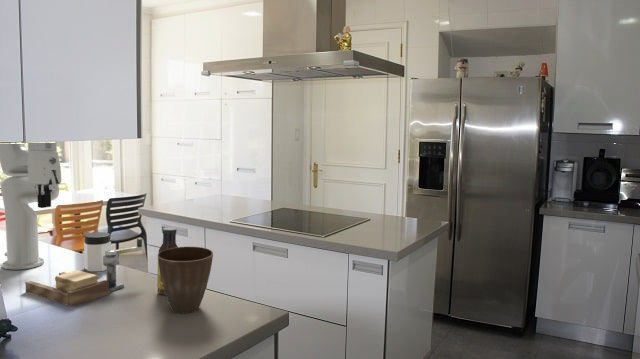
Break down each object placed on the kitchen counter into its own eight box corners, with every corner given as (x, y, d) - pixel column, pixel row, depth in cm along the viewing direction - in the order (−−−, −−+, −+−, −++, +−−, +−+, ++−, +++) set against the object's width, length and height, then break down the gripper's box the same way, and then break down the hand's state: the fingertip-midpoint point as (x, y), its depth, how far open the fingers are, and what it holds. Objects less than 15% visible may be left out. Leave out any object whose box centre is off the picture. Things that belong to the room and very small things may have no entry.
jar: (114, 269, 172) (113, 235, 171) (89, 273, 167) (88, 238, 165) (106, 263, 179) (105, 230, 177) (82, 266, 174) (81, 233, 172)
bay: (25, 291, 148) (25, 278, 147) (63, 280, 158) (63, 268, 158) (71, 306, 137) (70, 292, 137) (108, 293, 148) (108, 281, 148)
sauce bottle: (159, 296, 147) (158, 231, 145) (155, 290, 152) (154, 227, 150) (181, 293, 150) (181, 230, 148) (177, 287, 155) (176, 225, 153)
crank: (139, 249, 160) (139, 237, 160) (144, 250, 158) (144, 239, 158) (103, 255, 152) (103, 243, 151) (108, 257, 150) (107, 245, 149)
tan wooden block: (55, 295, 145) (54, 276, 144) (78, 288, 151) (77, 269, 150) (75, 302, 140) (74, 281, 140) (98, 294, 147) (97, 275, 146)
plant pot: (224, 307, 140) (224, 252, 139) (182, 323, 128) (182, 264, 126) (188, 295, 149) (188, 243, 147) (146, 310, 136) (146, 254, 135)
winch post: (99, 288, 152) (98, 257, 151) (113, 284, 157) (112, 253, 155) (110, 291, 150) (109, 259, 149) (123, 287, 154) (123, 255, 153)
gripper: (69, 147, 147) (71, 208, 149) (39, 145, 154) (41, 203, 156) (45, 148, 141) (47, 211, 143) (15, 146, 148) (17, 206, 150)
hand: (44, 207), depth 150 cm, fingers closed
